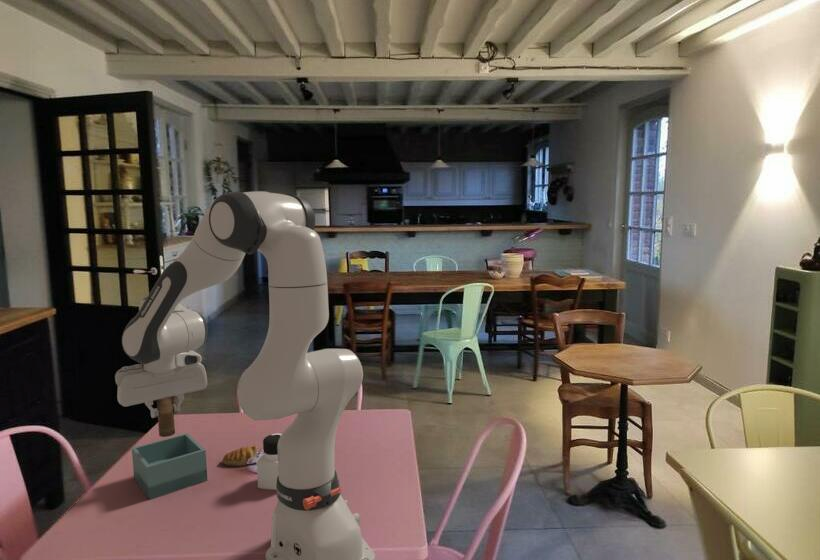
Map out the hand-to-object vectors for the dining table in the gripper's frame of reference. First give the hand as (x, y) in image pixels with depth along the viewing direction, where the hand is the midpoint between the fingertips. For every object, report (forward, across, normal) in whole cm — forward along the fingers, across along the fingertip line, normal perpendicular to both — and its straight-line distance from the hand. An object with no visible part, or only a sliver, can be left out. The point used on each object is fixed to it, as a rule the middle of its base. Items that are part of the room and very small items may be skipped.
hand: (165, 414), depth 133 cm
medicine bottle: (+17, +20, -20) cm, 33 cm away
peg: (+5, 0, 0) cm, 5 cm away
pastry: (+18, +18, -3) cm, 25 cm away
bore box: (+17, 0, 0) cm, 17 cm away
